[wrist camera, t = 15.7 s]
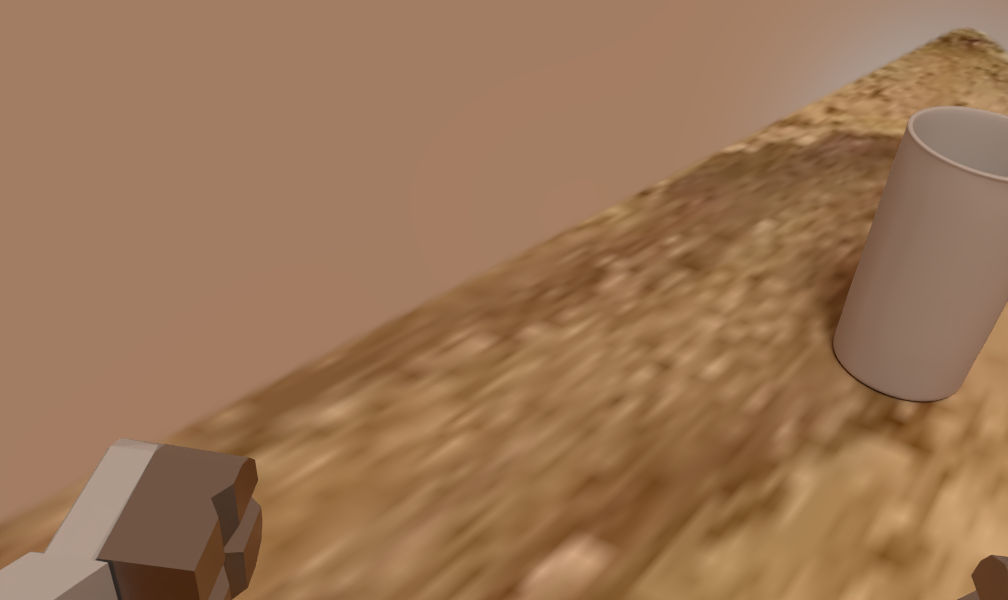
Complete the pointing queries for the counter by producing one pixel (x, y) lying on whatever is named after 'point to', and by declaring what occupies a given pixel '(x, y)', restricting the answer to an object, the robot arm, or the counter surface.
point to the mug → (932, 258)
